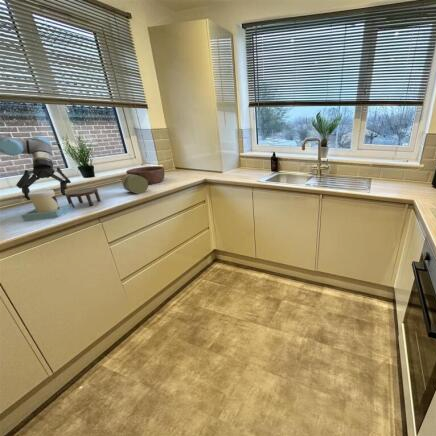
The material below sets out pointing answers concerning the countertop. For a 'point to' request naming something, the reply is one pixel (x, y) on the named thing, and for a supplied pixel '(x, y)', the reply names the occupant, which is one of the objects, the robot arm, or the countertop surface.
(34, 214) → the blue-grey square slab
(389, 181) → the countertop surface
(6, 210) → the countertop surface
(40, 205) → the coffee cup
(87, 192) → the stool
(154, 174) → the wooden bowl
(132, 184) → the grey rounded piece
